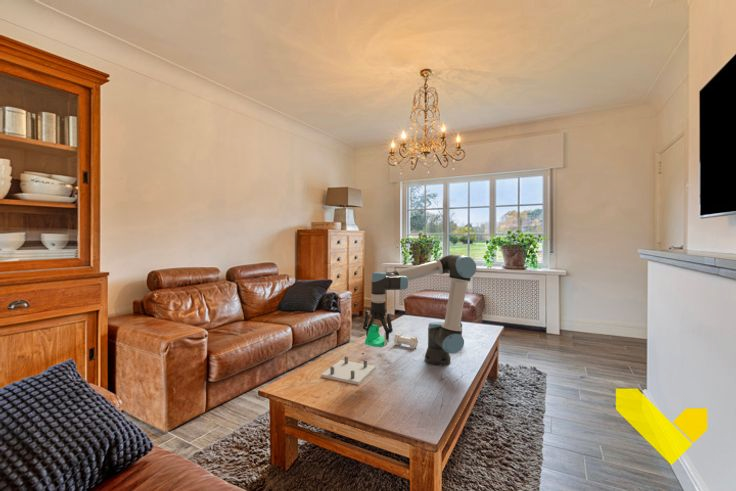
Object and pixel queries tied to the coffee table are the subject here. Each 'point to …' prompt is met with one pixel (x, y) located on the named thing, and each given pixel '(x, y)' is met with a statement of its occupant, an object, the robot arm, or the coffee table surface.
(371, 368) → the stub plate
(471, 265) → the robot arm
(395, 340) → the dog bone
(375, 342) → the camera mount
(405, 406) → the coffee table surface
